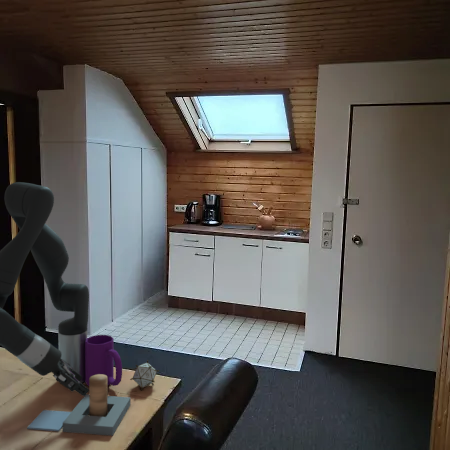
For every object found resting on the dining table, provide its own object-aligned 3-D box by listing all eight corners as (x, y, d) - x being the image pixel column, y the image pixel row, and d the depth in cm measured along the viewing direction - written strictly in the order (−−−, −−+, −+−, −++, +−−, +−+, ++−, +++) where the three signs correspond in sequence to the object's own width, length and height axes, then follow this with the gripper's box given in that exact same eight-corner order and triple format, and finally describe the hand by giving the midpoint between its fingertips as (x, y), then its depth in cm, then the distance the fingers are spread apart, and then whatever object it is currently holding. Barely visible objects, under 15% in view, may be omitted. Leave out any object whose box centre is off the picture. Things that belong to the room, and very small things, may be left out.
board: (86, 401, 136) (86, 394, 136) (130, 405, 135) (130, 397, 134) (62, 431, 120) (62, 423, 120) (112, 435, 119) (112, 426, 119)
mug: (102, 373, 155) (102, 332, 154) (131, 387, 146) (132, 343, 144) (79, 382, 148) (79, 339, 146) (109, 397, 139) (109, 352, 137)
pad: (43, 411, 130) (43, 409, 130) (73, 413, 129) (73, 412, 129) (27, 428, 121) (27, 427, 121) (59, 431, 120) (59, 429, 120)
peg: (93, 412, 130) (93, 373, 129) (109, 413, 130) (109, 374, 128) (86, 421, 125) (86, 381, 124) (103, 423, 125) (103, 382, 123)
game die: (144, 394, 149) (150, 364, 154) (160, 393, 144) (166, 362, 149) (122, 388, 144) (129, 357, 149) (138, 387, 139) (145, 355, 144)
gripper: (53, 352, 112) (99, 386, 119) (45, 334, 124) (87, 365, 131) (31, 376, 110) (78, 409, 117) (25, 355, 122) (68, 386, 129)
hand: (83, 386), depth 124 cm, fingers open, 8 cm apart
